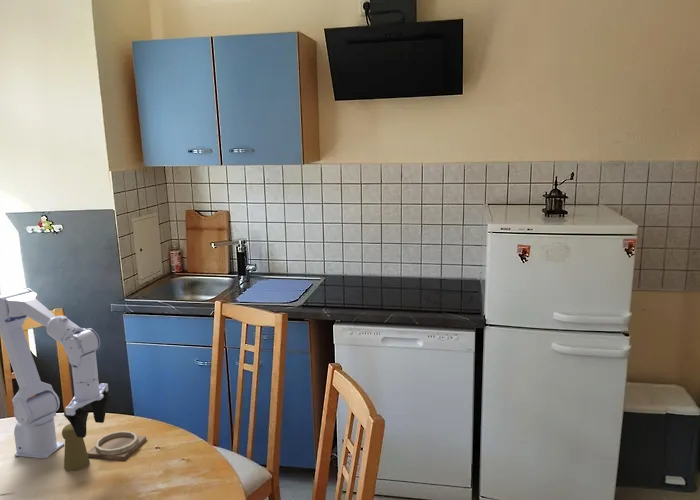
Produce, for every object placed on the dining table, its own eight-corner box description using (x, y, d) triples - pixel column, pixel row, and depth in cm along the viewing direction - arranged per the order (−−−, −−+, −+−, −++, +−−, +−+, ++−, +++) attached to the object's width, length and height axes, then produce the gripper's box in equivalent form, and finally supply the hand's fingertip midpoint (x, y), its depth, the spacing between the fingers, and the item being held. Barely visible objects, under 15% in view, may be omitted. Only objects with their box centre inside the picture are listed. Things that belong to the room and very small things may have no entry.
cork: (79, 472, 150) (75, 431, 148) (58, 470, 151) (54, 430, 149) (94, 459, 155) (90, 420, 153) (74, 457, 157) (69, 418, 155)
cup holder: (86, 456, 157) (85, 449, 157) (110, 436, 168) (110, 429, 167) (124, 460, 155) (123, 452, 154) (146, 439, 165) (145, 432, 165)
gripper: (81, 391, 140) (87, 444, 142) (116, 368, 154) (121, 417, 156) (55, 389, 141) (61, 442, 144) (92, 366, 155) (97, 415, 158)
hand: (90, 429), depth 150 cm, fingers open, 7 cm apart
